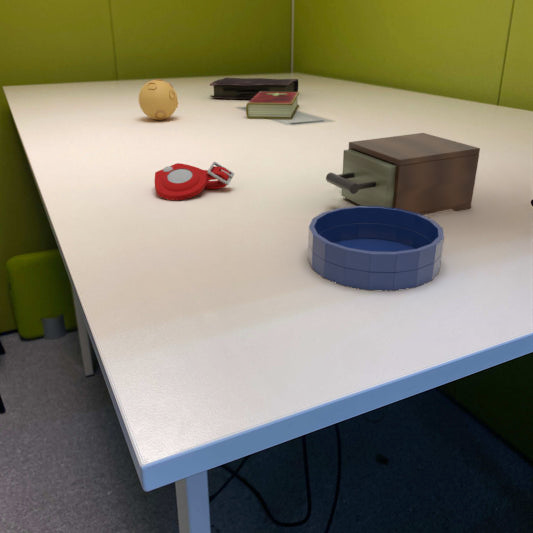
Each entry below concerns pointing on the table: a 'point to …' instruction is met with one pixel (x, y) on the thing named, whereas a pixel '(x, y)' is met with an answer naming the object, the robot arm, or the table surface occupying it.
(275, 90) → the diary
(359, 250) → the bowl
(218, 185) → the tracker holder
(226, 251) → the table surface
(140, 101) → the stress ball
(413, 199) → the cabinet
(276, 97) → the hardcover book
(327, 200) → the table surface
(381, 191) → the drawer
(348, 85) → the table surface
